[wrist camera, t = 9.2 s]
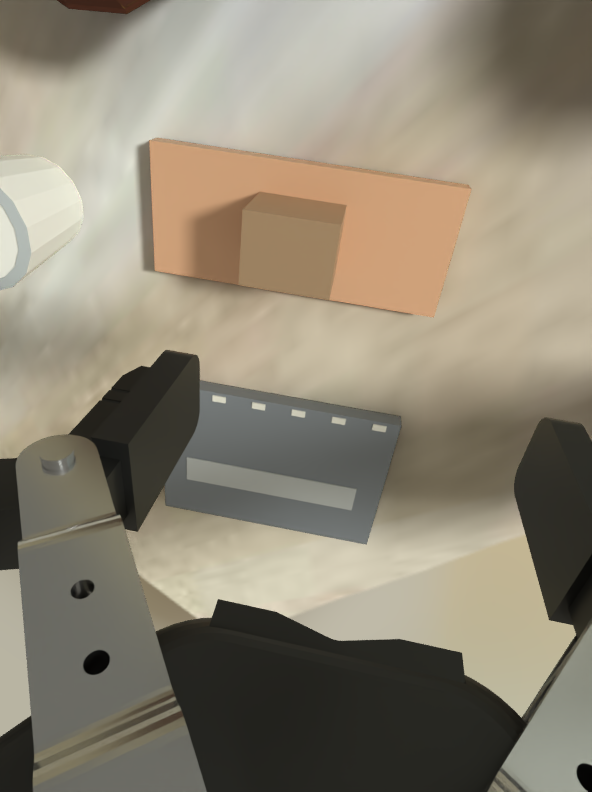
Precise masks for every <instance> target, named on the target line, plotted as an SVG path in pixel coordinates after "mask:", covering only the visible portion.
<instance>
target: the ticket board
mask: <svg viewBox="0 0 592 792" xmlns="http://www.w3.org/2000/svg"><path fill="white" fill-rule="evenodd" d="M400 429H401V417H400V416H395V415H389V414H384V413H378V412H373V411H367V410H361V409H356V408H350V407H345V406H339V405H334V404H328V403H322V402H317V401H311V400H306V399H300V398H294V397H289V396H283V395H278V394H272V393H267V392H261V391H255V390H250V389H244V388H239V387H233V386H227V385H222V384H216V383H211V382H205V381H200V413H199V419H198V424H197V427H196V430H195V432H194V434H193V436H192V438H191V440H190V441H189V443H188V445H187V446H186V448H185V450H184V452H183V453H182V455H181V457H180V459H179V460H178V462H177V464H176V466H175V467H174V469H173V471H172V473H171V474H170V476H169V478H168V480H167V481H166V483H165V503H166V506H171V507H176V508H181V509H186V510H192V511H197V512H202V513H207V514H212V515H217V516H222V517H228V518H233V519H238V520H243V521H248V522H253V523H258V524H264V525H269V526H274V527H279V528H284V529H289V530H294V531H300V532H305V533H310V534H315V535H320V536H325V537H330V538H336V539H341V540H346V541H351V542H356V543H361V544H366V545H367V541H368V538H369V534H370V531H371V528H372V524H373V521H374V517H375V514H376V511H377V507H378V504H379V500H380V497H381V494H382V490H383V487H384V483H385V480H386V476H387V473H388V470H389V466H390V463H391V459H392V456H393V453H394V449H395V446H396V442H397V439H398V436H399V432H400Z"/></svg>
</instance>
